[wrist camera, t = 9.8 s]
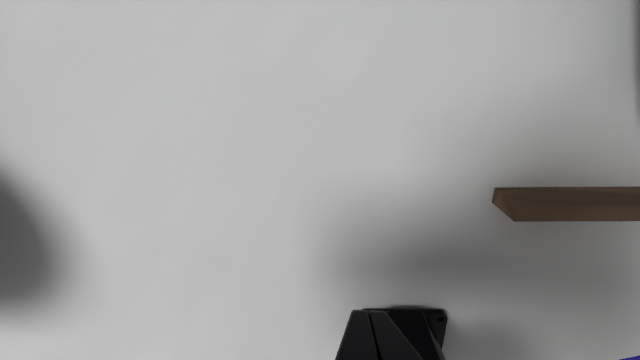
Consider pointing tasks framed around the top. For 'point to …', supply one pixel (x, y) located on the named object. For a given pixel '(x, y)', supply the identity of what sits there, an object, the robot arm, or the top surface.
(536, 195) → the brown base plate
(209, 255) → the top surface
